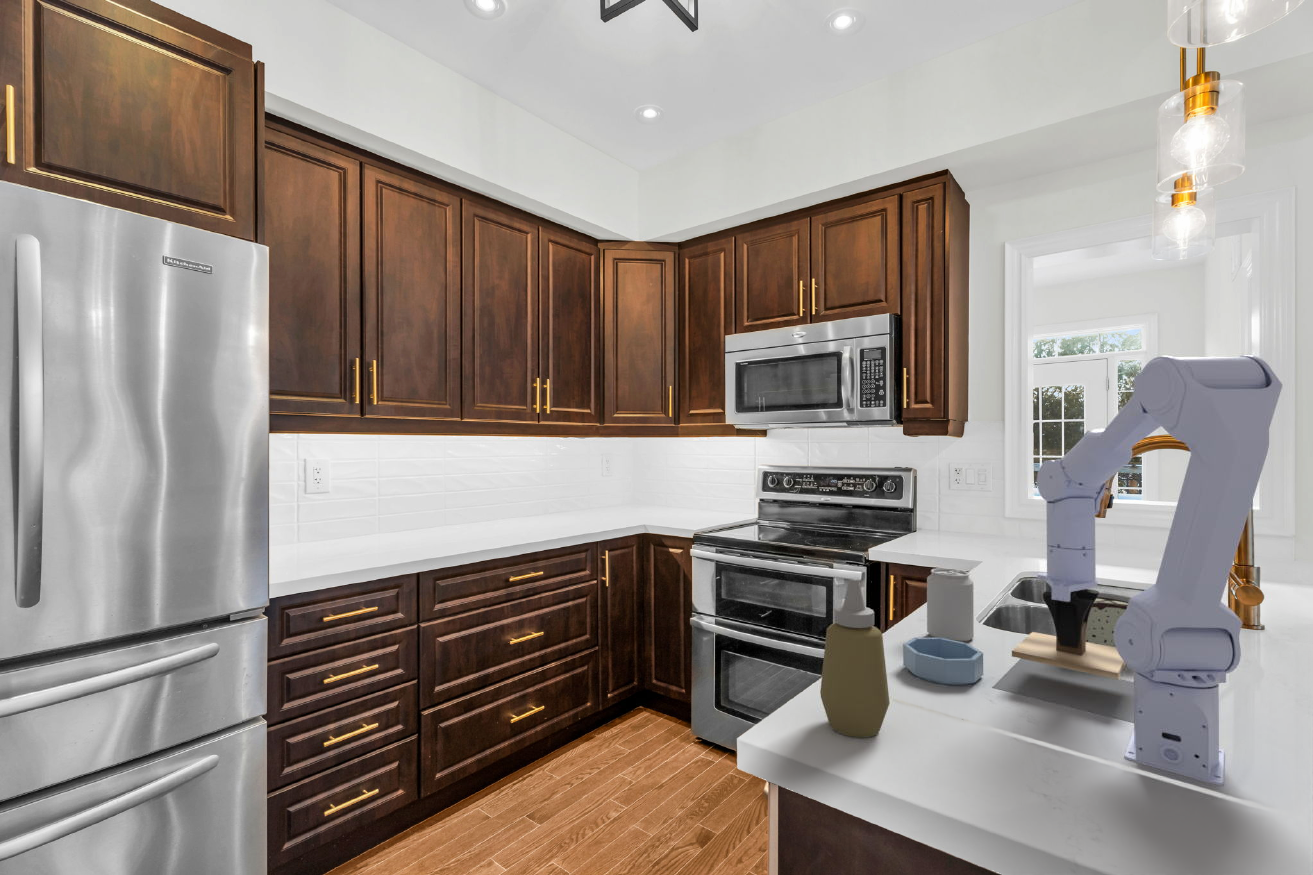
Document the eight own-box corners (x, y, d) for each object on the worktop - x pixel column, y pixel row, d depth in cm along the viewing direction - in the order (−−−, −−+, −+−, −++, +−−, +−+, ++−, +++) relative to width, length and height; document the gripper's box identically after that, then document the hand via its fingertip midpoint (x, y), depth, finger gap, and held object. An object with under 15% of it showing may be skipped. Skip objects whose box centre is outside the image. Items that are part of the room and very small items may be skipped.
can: (917, 634, 112) (917, 567, 112) (951, 630, 114) (951, 565, 114) (948, 647, 105) (948, 576, 105) (983, 643, 107) (983, 573, 107)
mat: (1136, 726, 76) (1136, 722, 76) (992, 690, 86) (992, 687, 86) (1149, 688, 87) (1149, 685, 87) (1021, 660, 98) (1021, 658, 98)
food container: (1120, 651, 102) (1120, 591, 102) (1146, 665, 96) (1146, 601, 96) (1042, 649, 104) (1042, 589, 104) (1062, 662, 98) (1062, 599, 98)
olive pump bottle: (859, 709, 80) (858, 570, 80) (904, 736, 73) (904, 584, 73) (806, 718, 77) (806, 575, 78) (848, 748, 70) (848, 589, 70)
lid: (1117, 679, 78) (1117, 641, 78) (1011, 656, 87) (1011, 622, 87) (1129, 655, 87) (1129, 621, 87) (1032, 636, 95) (1032, 605, 95)
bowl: (967, 694, 85) (967, 665, 85) (895, 675, 92) (895, 648, 92) (989, 674, 92) (989, 647, 92) (920, 658, 99) (920, 633, 99)
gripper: (1048, 537, 95) (1049, 626, 95) (1025, 549, 84) (1026, 648, 84) (1105, 542, 90) (1105, 636, 90) (1087, 555, 80) (1088, 661, 79)
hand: (1071, 643), depth 87 cm, fingers closed on lid, 3 cm apart
